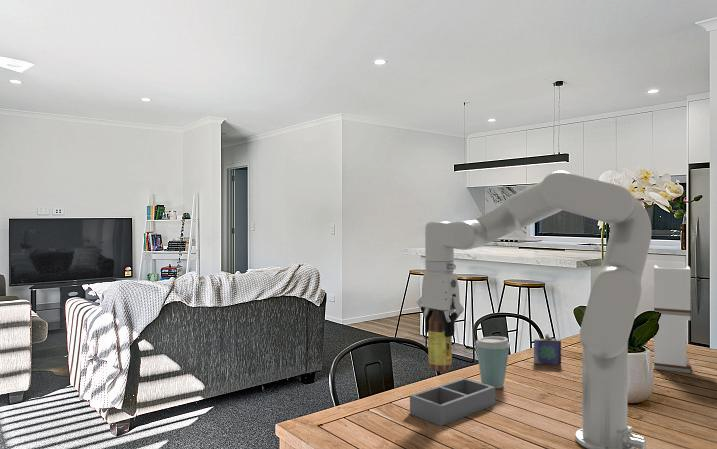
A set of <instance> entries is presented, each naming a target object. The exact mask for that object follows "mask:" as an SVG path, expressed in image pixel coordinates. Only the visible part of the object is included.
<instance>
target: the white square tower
mask: <svg viewBox="0 0 717 449" xmlns="http://www.w3.org/2000/svg"><path fill="white" fill-rule="evenodd" d="M653 271H654V274H653V276H654V278H653V281H654V282H653V287H654V288H653V294H654V295H653V307H654V308H653V312H654V311H655V312H660V313H661V317H660V319H659V322H658V323H659V330H658V332H657V334H656V336H655V337H654V336H653V369H654V370H660V371H661V370H662V371H670V372H679V373H686V374H691V363H690V359H689V358H687V333H688V331H687V328H688V324H687V323H688V322H687V321H691V319H692V318H691V314H692V313H691V312H692V310H691V307H692V306H691V304H692V300H691V299H692V298H691V297H692V294H691V293H692V291H691V290H692V288H691V286H692V285H691V284H692V275H691V273H692V272H691V271H692V270H691V268H690V266H689V265H687V266H685V267H683V268H676V267H675V268H674V267H673V268H670V267H659V266H658V265H657V264H654V266H653Z"/></svg>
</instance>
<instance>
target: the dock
mask: <svg viewBox="0 0 717 449" xmlns="http://www.w3.org/2000/svg"><path fill="white" fill-rule="evenodd" d="M495 405H496V388H495V387H493V386H490V385H486V384H483V383H482V382H480V381H476V380H473V379H469V378H465V377H463V378H459V379H457V380H453V381H450V382H447V383H444V384H441V385H438V386H434V387H432V388H429V389H426V390H425V389H424V390H422V391H419V392H416V393H412V394H410V395H409V414H410V415H412V416H414V417H417V418H419V419H422V420H424V421H427V422H430V423H431V424H434V425H437V426H439V427H442V426H445V425H447V424H449V423H452V422H455V421H458V420H460V419H462V418H465V417H467V416H470V415H473V414H475V413H477V412H480V411H482V410H485V409H488V408H490V407H493V406H495Z"/></svg>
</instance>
